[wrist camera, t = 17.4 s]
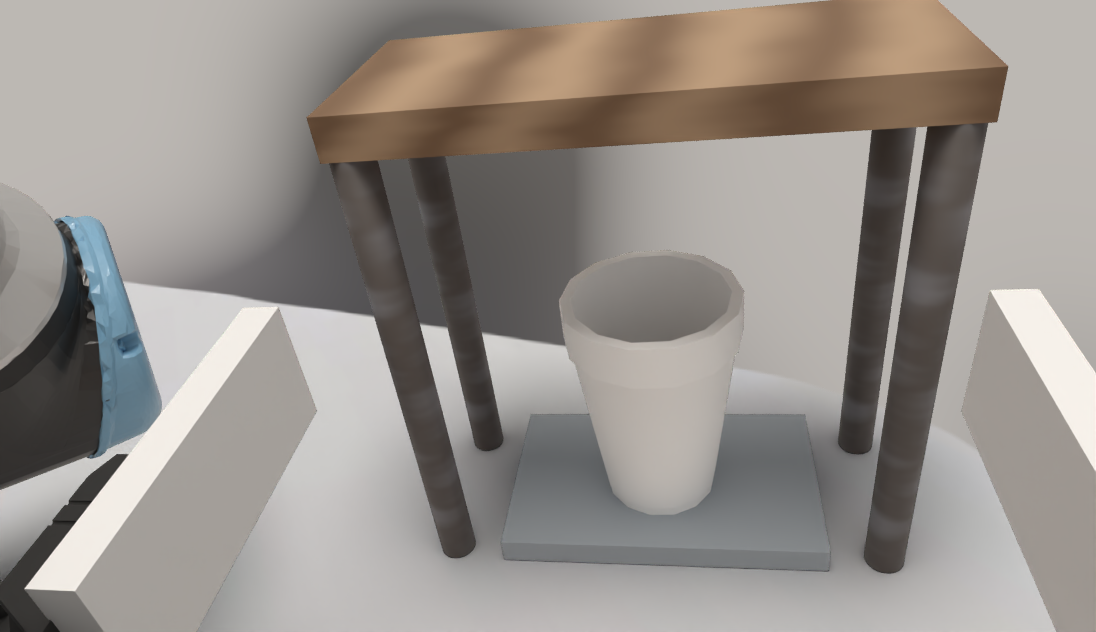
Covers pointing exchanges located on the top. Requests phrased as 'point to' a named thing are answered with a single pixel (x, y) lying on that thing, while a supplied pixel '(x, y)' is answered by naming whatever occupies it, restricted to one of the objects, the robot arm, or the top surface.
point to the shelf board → (684, 538)
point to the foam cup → (655, 370)
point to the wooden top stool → (674, 116)
